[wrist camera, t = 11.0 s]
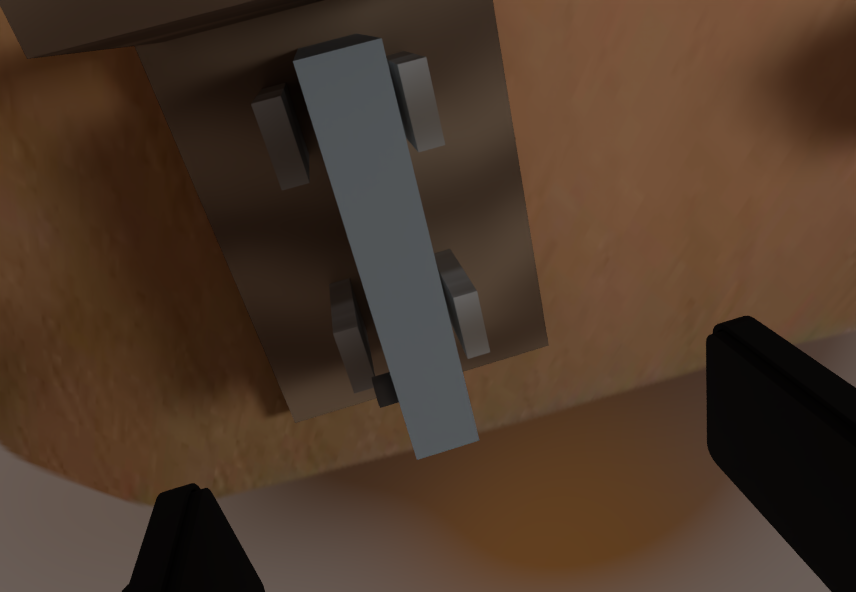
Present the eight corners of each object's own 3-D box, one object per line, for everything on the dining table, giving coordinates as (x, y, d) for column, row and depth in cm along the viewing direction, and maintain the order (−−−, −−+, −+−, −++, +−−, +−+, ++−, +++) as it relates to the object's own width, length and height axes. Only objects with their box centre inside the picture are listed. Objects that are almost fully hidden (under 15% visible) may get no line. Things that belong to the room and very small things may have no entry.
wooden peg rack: (128, 7, 23) (-70, -12, 11) (469, -80, 24) (633, -186, 12) (295, 406, 32) (288, 637, 20) (538, 332, 33) (672, 510, 21)
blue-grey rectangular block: (278, 53, 23) (263, 68, 15) (356, 33, 23) (381, 38, 15) (371, 346, 29) (396, 466, 21) (432, 327, 30) (479, 440, 22)
